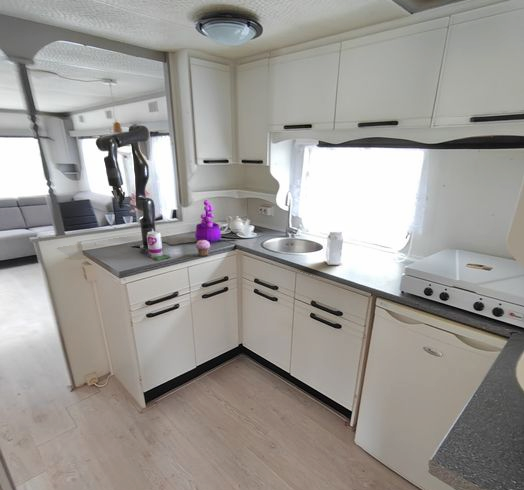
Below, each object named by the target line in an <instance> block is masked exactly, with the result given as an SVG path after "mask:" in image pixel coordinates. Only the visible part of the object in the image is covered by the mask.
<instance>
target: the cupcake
mask: <svg viewBox="0 0 524 490" xmlns="http://www.w3.org/2000/svg"><path fill="white" fill-rule="evenodd" d="M197 241H198V240H197ZM210 247H211V243H209V242H208V241H206V240H199V241H198V242H197V243H195V249H197V251H198V255H199V256H200V257H206V256H208V255H209V249H210Z"/></svg>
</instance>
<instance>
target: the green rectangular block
mask: <svg viewBox="0 0 524 490" xmlns="http://www.w3.org/2000/svg"><path fill="white" fill-rule="evenodd" d="M169 258H170V256H169V255H167V254H163V255H162V256H158V257H155V258H153V259H154V260H155V261H162V260H165V259H169Z"/></svg>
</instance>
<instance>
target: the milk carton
mask: <svg viewBox="0 0 524 490" xmlns="http://www.w3.org/2000/svg"><path fill="white" fill-rule="evenodd" d="M343 243H344V239H343V233H342V231H329V234H328V236H327V240H326V251H325V262H326V264H327V265H334V266H336V265H337V266H338V265H341V261H342V251H343V250H342V249H343Z"/></svg>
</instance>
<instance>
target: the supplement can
mask: <svg viewBox="0 0 524 490" xmlns="http://www.w3.org/2000/svg"><path fill="white" fill-rule="evenodd" d="M161 241H162V235H161V233H160V231H158V230H156V231H152V232H148V234H147V242H148V250H149V254H148V256H149V257H150V258H152V259H154V258H155V257H158V256H163V255H164V254H163V252H164V251H163V243H162V242H163V241H162V242H161Z"/></svg>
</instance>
